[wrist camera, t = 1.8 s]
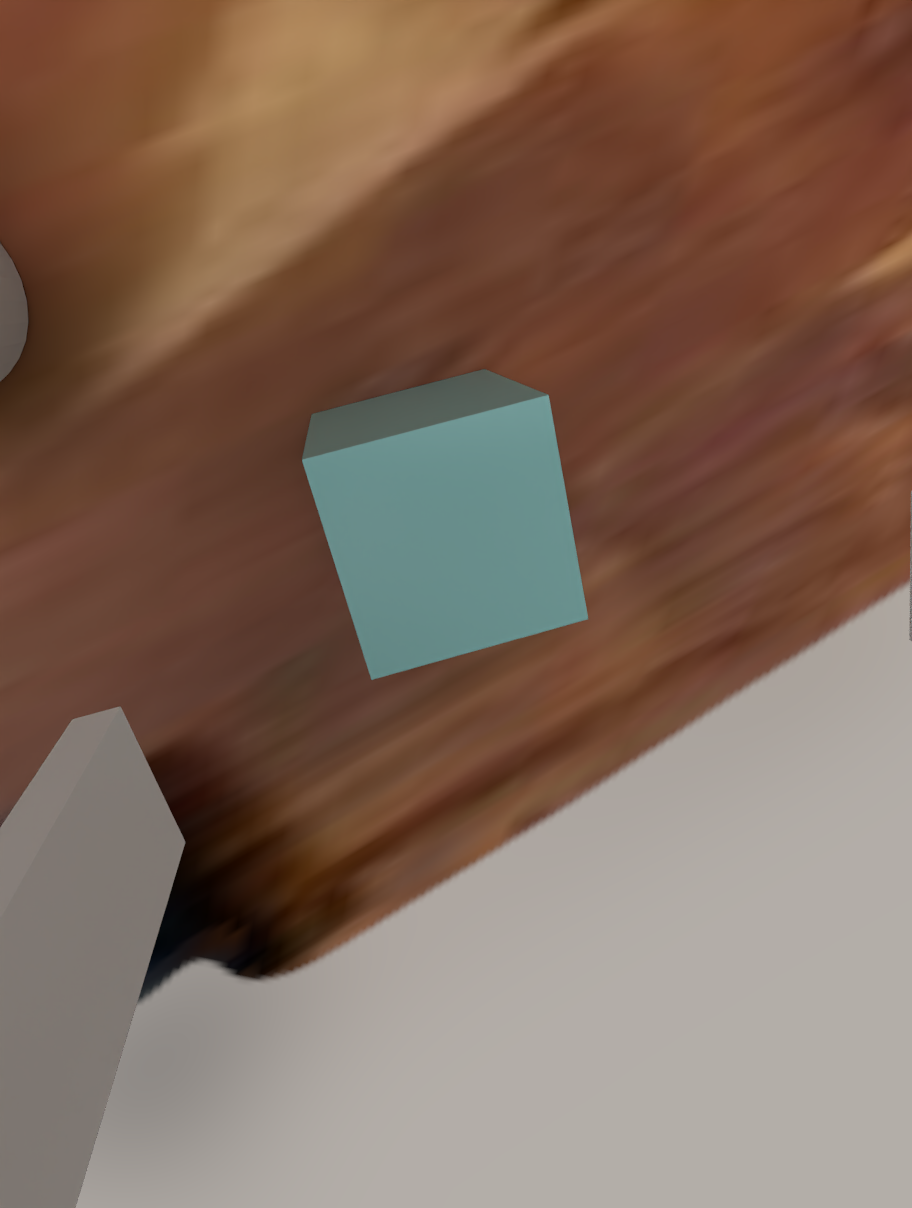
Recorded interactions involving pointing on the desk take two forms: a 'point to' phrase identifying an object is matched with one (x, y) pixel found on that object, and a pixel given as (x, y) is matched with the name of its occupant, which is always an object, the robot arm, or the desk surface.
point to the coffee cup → (11, 314)
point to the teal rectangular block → (446, 518)
